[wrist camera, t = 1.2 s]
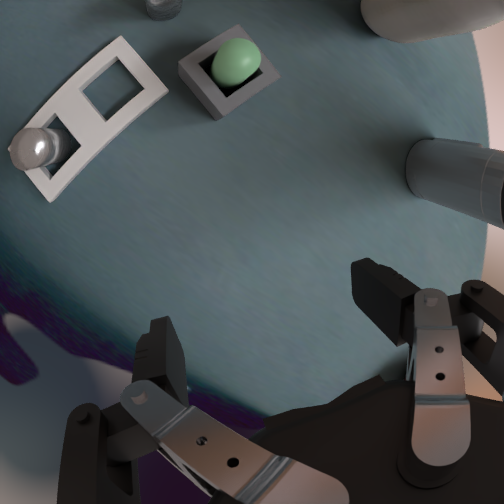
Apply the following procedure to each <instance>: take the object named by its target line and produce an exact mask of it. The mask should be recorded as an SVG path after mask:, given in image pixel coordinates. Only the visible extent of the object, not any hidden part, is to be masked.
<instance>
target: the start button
mask: <svg viewBox="0 0 504 504" xmlns="http://www.w3.org/2000/svg"><path fill="white" fill-rule="evenodd" d="M260 62H261V54H260V51H259V49H258V48H257V46H256V45H255V44H254V43H252V42H251V41H249V40H247V39H243V38H233V39H230V40H228V41H226V42H224V43H223V44H222V45H221V46H220V48H219V50H218V52H217V54H216V56H215V58H214V60H213V63H212V65H211V67H210V77H211V79H212V81H213V82H214V83H215V84H216V85H217V86H219V87H221V88H225V89H230V88H235V87H237V86H238V85H240V84H241V83H242V82H243V81H244V80H246V79H247V78H248V77H249V76H250V75H251V74H253V73H254V72H255V71H256V70H257V69H258V67H259V65H260Z"/></svg>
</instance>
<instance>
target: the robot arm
mask: <svg viewBox="0 0 504 504" xmlns="http://www.w3.org/2000/svg"><path fill="white" fill-rule="evenodd" d="M406 179H407V182H408V185H409V187H410V189H411V191H412V192H413V193H414V194H415V195H416V196H417V197H419V198H422V199H425V200H428V201H431V202H434V203H437V204H439V205H442V206H445V207H448V208H450V209H453V210H456V211H458V212H461V213H464V214H466V215H469V216H472V217H474V218H477V219H479V220H482V221H484V222H487V223H489V224H492V225H494V226H497V227H499V228H502V229H504V151H501V150H500V151H499V150H495V149H490V148H484V147H483V146H482V145H481V144H479V143H472V142H466V141H458V140H450V139H442V138H435V139H434V140H427V139H426V140H421V141H419V142H417V143H416V144H415V145H414V146H413V147H412V149H411V150H410V152H409V154H408V157H407V161H406ZM351 281H352V296H353V299H354V302H355V304H356V305H357V306H358V307H359V308H360V309H361V310H362V311H363V312H364V313H365V314H366V315H367V316H368V317H369V318H370V319H371V320H372V322H373V323H374V324H375V325H376V326H377V327H378V328H379V329H380V330H381V331H382V332H383V333H384V334H385V335H386V336H387V337H388V338H389V339H390V340H391V341H392V342H393V343H394V344H395V345H396V346H397V347H398V346H400V345H402V344H404V343H406V342H407V343H408V344H409V347H408V359H407V374H406V380H393V381H386V382H384V380H383V379H382V378H381V377H380V375H377V376H375V377H373V378H371V379H369V380H366V381H364V382H362V383H360V384H357V385H355V386H353V387H351V388H350V389H349V390H347V391H346V392H344V393H343V394H341V395H340V396H338V397H337V398H336V399H334V400H333V401H331V402H329V403H327V404H324V405H318V406H312V407H305V408H298V409H292V410H289V411H286V412H283V413H280V414H277V415H274V416H271V417H267V418H264V419H263V421H264V424H265V428H263V429H261V430H260V431H258V432H257V433H255V434H254V435H253V436H252V437H250V438H249V439H246V438H244V437H242V436H241V435H239V434H237V433H236V432H234V431H232V430H231V429H229V428H228V427H226V426H224V425H223V424H221V423H220V422H218V421H216V420H215V419H213V418H212V417H210V416H209V415H207V414H206V413H204V412H203V411H201V410H200V409H198V408H197V407H195V406H193V405H190V406H189V404H188V393H187V382H186V369H185V357H184V352H183V349H182V346H181V343H180V341H179V339H178V336H177V334H176V332H175V329H174V327H173V324H172V322H171V320H170V318H169V316H165V317H161V318H157V319H154V320H151V323H150V332H149V333H147V334H143V335H142V336H141V338H140V339H139V341H138V342H137V345H136V353H135V360H134V367H133V375H132V383H131V384H130V385H128V386H127V387H126V388H125V389H124V390H123V392H122V393H121V396H120V402H119V403H116V404H114V405H112V406H110V407H108V408H105V409H103V410H100V409H99V407H98V406H97V405H95V404H92V403H86V404H82V405H79V406H78V407H76V408H75V409H74V410H73V411H72V412H71V413H70V415H69V417H68V420H67V425H66V431H65V437H64V443H63V450H62V457H61V465H60V473H59V482H58V493H57V504H141V500H140V490H139V477H138V462H137V458H139V457H141V456H143V455H146V454H148V453H150V452H152V451H155V450H157V451H158V452H160V453H161V454H162V455H163V456H164V457H165V458H166V459H167V460H168V461H169V462H171V463H172V464H173V465H174V466H175V467H176V468H178V469H179V470H180V471H181V472H182V473H183V474H184V475H186V476H187V477H188V478H189V479H190V480H191V481H193V482H194V483H195V484H196V485H197V486H198V487H199V488H200V489H201V490H203V491H204V492H205V493H206V494H208V495H209V496H210V497H211V499H210V501H209V502H208V504H504V295H503V294H501V293H500V292H498V291H497V290H496V289H494V288H493V287H491V286H490V285H488V284H487V283H485V282H483V281H480V280H468V281H466V282H464V283H463V284H462V287H461V293H460V294H455V295H450V296H447V295H446V294H445V293H444V292H442V291H441V290H438V289H433V288H426V289H420V288H419V287H417V286H416V285H415V284H413V283H412V282H410V281H409V280H408V279H406V278H404V277H403V276H402V275H401V274H398V272H396V271H395V270H393V269H392V268H391V267H387V266H384V265H381V264H380V265H378V264H377V263H375V262H374V261H373V260H371V259H370V258H364V259H361V260H358V261H355V262H352V264H351ZM484 322H485V323H486V324H488V325H489V326H490V327H491V328H492V329H494V331H495V332H496V335H497V341H496V343H495V342H494V341H493V340H492V339H491V338H490V337H489V336H487V335H486V334H485V333H484V332H483V331H482V329H483V325H484ZM462 355H463V356H464V357H465V358H466V359H467V360H468V361H469V362H470V363H471V364H472V365H473V366H474V367H475V368H476V369H477V370H478V371H479V372H480V374H481V375H482V376H483V377H484V378H485V379H486V380H487V381H488V382H489V383H490V384H491V385H492V386H493V387H494V388H495V389H496V391H498V393H499V394H500V395H501V396H502V400H503V402H502V401H496V400H491V399H486V398H481V397H477V396H472V395H468V394H465V381H464V371H463V361H462Z"/></svg>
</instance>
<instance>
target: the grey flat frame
mask: <svg viewBox="0 0 504 504" xmlns="http://www.w3.org/2000/svg"><path fill="white" fill-rule="evenodd" d="M117 60H120V61H121V62H122V63H123V64H124V66H125V67H126V68H127V69H128V70H129V71H130V73H131V74H132V75H133V76H134V77H135V78H136V80H137V81H138V82H139V83H140V84H141V85H142V87H143V88H144V90H142V91H141V92H140V93H139V94H138V95H136V96H135V97H134V98H133V99H132V100H130V101H129V102H128V103H127V104H126V105H125V106H123V107H122V108H121V109H120V110H119V111H118V112H117V113H115V114H114V115H113V116H112V117H111V118H110V119H109V120H108V121H106V119H105V118H104V117H103V116H102V115H101V113H100V112H99V111H98V110H97V109H96V107H95V106H94V105H93V104H92V102H91V101H90V100H89V99H88V98H87V96H86V95H85V94H84V93H83V92H82V91H83V90H84V89H85V88H86V87H87V86H88V85H89V84H90V83H92V82H93V81H94V80H95V79H96V78H97V77H98V76H99V75H101V74H102V73H103V72H104V71H105V70H106V69H108V68H109V67H110V66H111V65H112V64H114V63H115V62H116V61H117ZM168 92H169V90H168V89H167V88H166V86H165V85H164V84H163V83H162V82H161V81H160V79H159V78H158V77H157V76H156V75H155V74H154V72H153V71H152V70H151V69H150V68H149V67H148V65H147V64H146V63H145V62H144V61H143V60H142V58H141V57H140V56H139V55H138V54H137V53H136V52H135V50H134V49H133V48H132V47H131V46H130V45H129V44H128V43H127V41H126V40H125V39H124V38H123V37H122V36H121V35H120V36H119V37H118V38H117V39H115V40H114V41H113V42H111V43H110V44H109V45H108V46H106V47H105V48H104V49H103V50H101V51H100V52H99V53H98V54H97V55H96V56H94V57H93V58H92V59H91V60H90V61H89V62H87V63H86V64H85V65H84V66H83V67H82V68H81V69H80V70H79V71H77V72H76V73H75V74H74V75H73V76H72V77H71V78H70V79H69V80H68V81H67V82H66V83H65V84H64V85H63V86H62V87H61V88H60V89H59V90H58V91H57V92H56V93H55V94H54V95H53V96H52V97H51V98H50V99H49V100H48V101H47V102H46V103H45V104H44V106H43V107H42V108H41V109H40V110H39V111H38V112H37V113H36V114H35V116H34V117H33V118H32V119H31V120H30V121H29V123H28V124H27V125H26V126H25V127H24V128H47V127H48V126H49V124H50V123H51V122H52V121H53V120H54V119H55V118H56V117H57V116H58V117H59V119H60V120H61V121H62V122H63V124H64V125H65V126H66V127H67V129H68V130H69V131H70V132H71V134H72V135H73V136H74V137H75V138H76V140H77V141H78V142H79V143H80V145H81V147H80V148H79V149H78V150H77V151H76V152H75V153H74V154H73V155H72V156H71V157H70V159H69V160H68V161H67V162H66V163H65V164H64V165H63V166H62V167H61V168H60V170H59V171H58V172H57V173H56V174H55V175H54V176H52V174H51V173H50V172H49V171H48V169H47V168H46V167H45V166H43V167H39V168H35V169H31V170H27V171H24V172H25V173H26V174H27V175H28V177H29V178H30V179H31V181H32V182H33V183H34V184H35V186H36V187H37V188H38V189H39V190H40V192H41V193H42V194H43V195H44V197H45V198H46V199H47V200H48V201H49V203H50V202H52V201H54V200H55V199H56V198H57V197H58V196H59V195H60V194H61V192H62V191H63V190H64V189H65V188H66V187H67V186H68V185H69V183H70V182H71V181H72V180H73V179H74V178H75V177H76V176H77V175H78V174H79V173H80V172H81V171H82V170H83V169H84V167H85V166H86V165H87V164H88V163H89V162H90V161H91V160H92V159H93V158H94V157H95V156H96V155H97V154H98V153H99V152H100V151H101V150H102V149H104V148H105V147H106V146H107V145H108V144H109V143H110V142H111V141H112V140H113V139H114V138H115V137H116V136H117V135H118V134H120V133H121V132H122V131H123V130H124V129H125V128H126V127H127V126H128V125H130V124H131V123H132V122H133V121H134V120H135V119H136V118H138V117H139V116H140V115H141V114H142V113H144V112H145V111H146V110H147V109H148V108H150V107H151V106H152V105H153V104H155V103H156V102H157V101H158V100H160V99H161V98H162V97H163V96H165V95H166V94H167V93H168ZM10 146H11V145H10ZM10 146H9V148H8V150H9V152H10Z"/></svg>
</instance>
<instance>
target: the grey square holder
mask: <svg viewBox="0 0 504 504" xmlns="http://www.w3.org/2000/svg"><path fill="white" fill-rule="evenodd" d="M233 38H243V39H247V40H249V41H251V42H252V43H254V44H255V45H256V43H255V42H254V41H253V40H252V39H251V37H250V36H249V35H248V34H247V33H246V32H245V30H244V29H243V28H242V27H241V26H240V25H239V24H237V25H235V26H233V27H232V28H230V29H228V30H227V31H225V32H223V33H221V34H220V35H218V36H217V37H215V38H213V39H212V40H210V41H208V42H207V43H205V44H204V45H202V46H201V47H199V48H198V49H196V50H195V51H193V52H192V53H190V54H189V55H187V56H186V57H184V58H183V59H181V60H180V61H178V75H179V77H180V78H181V79H182V80H183V81H184V83H185V84H186V85H187V86H188V87H189V89H190V90H191V91H192V92H193V93H194V95H195V96H196V97H197V98H198V99H199V101H200V102H201V103H202V104H203V105H204V107H205V108H206V109H207V110H208V112H209V113H210V114H211V115H212V117H213V118H214V119H215V120H216V121H217V120H219V119H221V118H222V117H224V116H225V115H227V114H228V113H230V112H231V111H232V110H234V109H235V108H236V107H238V106H239V105H241V104H242V103H243V102H245V101H246V100H248V99H249V98H251V97H252V96H254V95H255V94H256V93H258V92H259V91H261V90H262V89H264V88H265V87H267V86H268V85H270V84H271V83H273V82H274V81H276V80H278V79H279V78H281V75H280V74H279V73H278V71H277V70H276V69H275V67H274V66H273V65H272V63H271V62H270V61H269V60H268V58H267V57H266V56H265V55H264V53H263V52H262V51H261V50H260V48H259V47H258V46H257V45H256V46H257V48H258V49H259V51H260V54H261V62H260V65H259V67H258V69H257V70H256V71H255V72H254V73H253V74H251V75H250V76H249V77H248V78H247V79H246V80H247V81H248V82H249V83H248V84H246V85H245V86H243V87H242V88H240V89H239V90H237V91H236V92H234V93H233V94H231V95H230V96H229V97H227V98H226V97H225V96H224V95H223V93H222V92H221V91H220V90H219V88H218V87H217V86H216V85H215V83H214V82H213V81H212V80H211V79H210V77H209V76H208V75H207V74H206V73H205V71H204V69H206V68H207V67H209V66H210V65H212V63H213V60H214V58H215V56H216V54H217V52H218V50H219V48H220V46H221V45H222V44H223V43H224V42H226V41H228V40H230V39H233Z"/></svg>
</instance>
